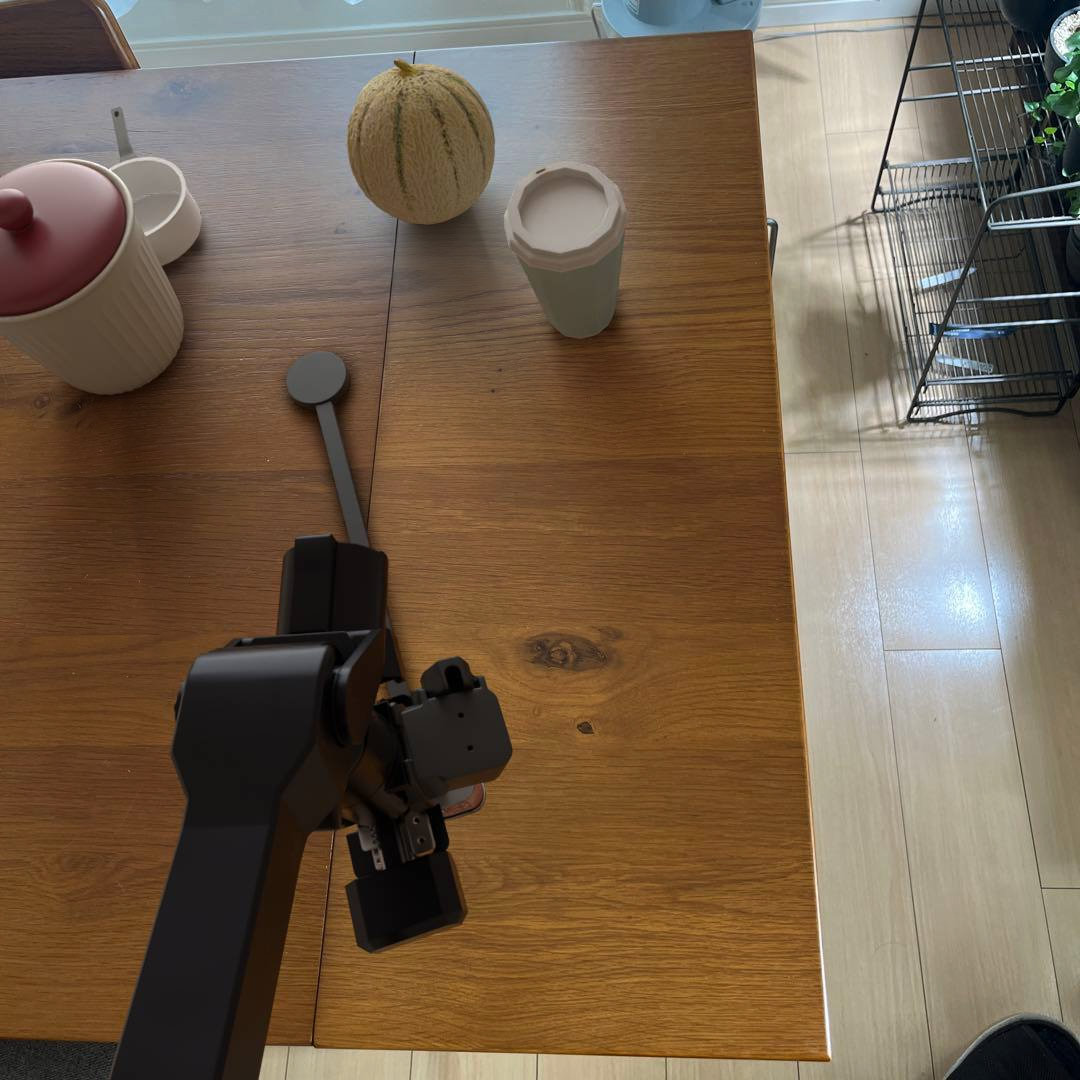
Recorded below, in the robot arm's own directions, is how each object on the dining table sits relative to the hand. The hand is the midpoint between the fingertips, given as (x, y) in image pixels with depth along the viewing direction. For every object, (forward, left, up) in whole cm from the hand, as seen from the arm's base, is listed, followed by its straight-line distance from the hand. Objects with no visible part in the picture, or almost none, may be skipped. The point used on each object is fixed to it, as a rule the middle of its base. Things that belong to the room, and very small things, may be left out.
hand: (411, 802), depth 65 cm
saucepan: (+74, +14, -11) cm, 76 cm away
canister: (+56, +19, -11) cm, 60 cm away
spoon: (+27, +1, -10) cm, 29 cm away
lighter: (+1, -1, -3) cm, 4 cm away
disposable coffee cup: (+42, -25, -11) cm, 50 cm away
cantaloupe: (+62, -16, -11) cm, 65 cm away
